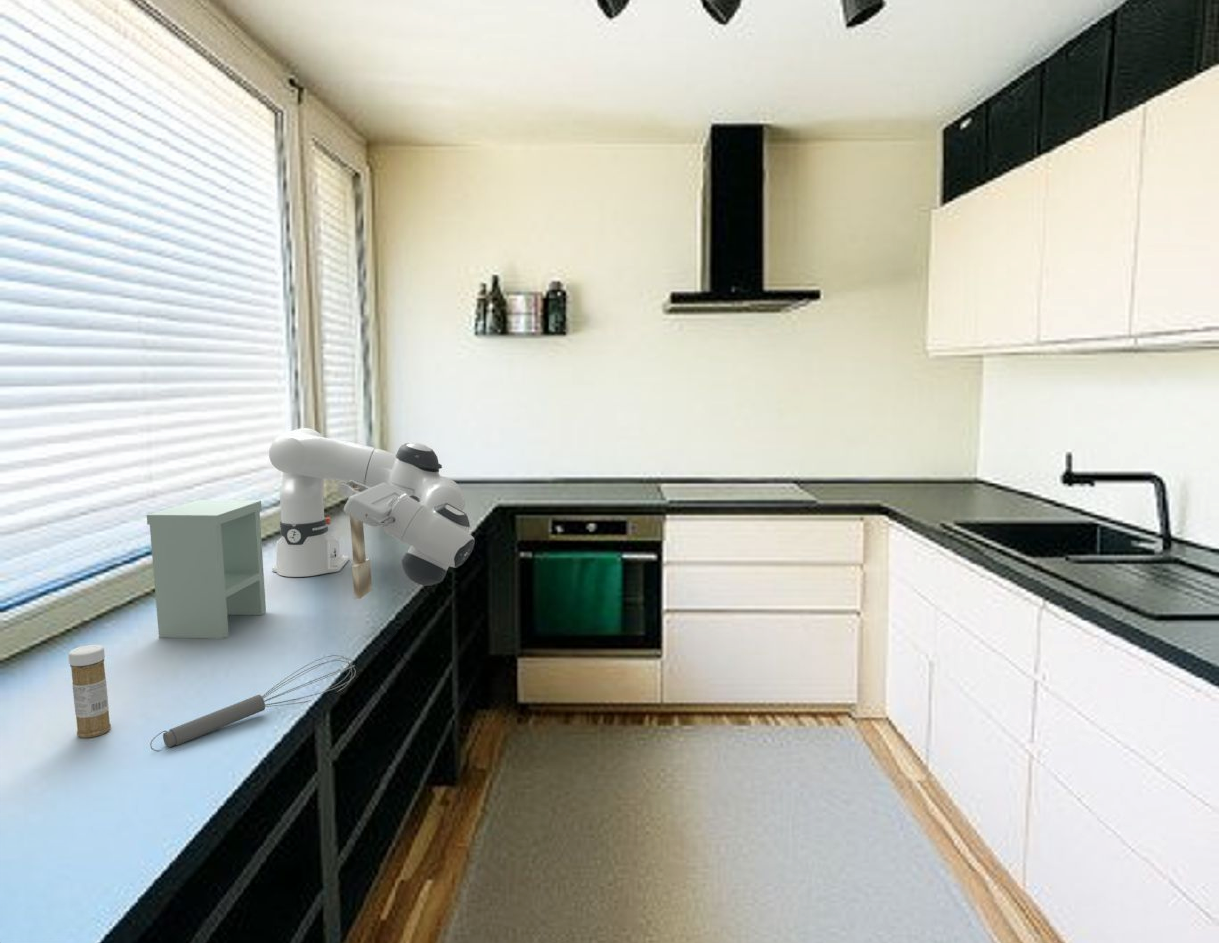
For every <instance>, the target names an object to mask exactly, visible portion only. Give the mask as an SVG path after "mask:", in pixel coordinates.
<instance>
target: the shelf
mask: <svg viewBox="0 0 1219 943" xmlns="http://www.w3.org/2000/svg"><path fill="white" fill-rule="evenodd" d="M262 508H263V507H262V500H225V499H224V500H223V499H222V500H221V499H220V500H214V499H212V500H211V499H210V500H209V499H208V500H207V499H202V500H201V499H197V500H193V501H190V502H186V503H183V504H180V505H176V506H172V507H169V508H165V509H163V510H158V511H155V512H152V513H149V514H146V524H147V525H149V531H150V532H149V533H150V544H151V555H152V556H151V558H152V569H153V571H152V572H153V581H154V593H155V594H154V595H155V605H156V607H155V608H156V617H157V628H158V629H157V632H158V638H169V639H170V638H171V639H173V638H175V639H218V640H219V639H221V640H222V639H226V637H227V638H228V637H229V635H230V634H229V623H228V622H229V621H228V620H229V619H228V616H229V615H232V616H233V615H234V616H235V615H239V616H240V615H242V616H243V615H244V616H252V615H253V616H262V615H264V614H266V613H267V605H266V604H267V603H266V592H265V591H266V589H265V574H264V559H263V544H262V527H261V515H260V514H261V513H260V511H261V510H262Z"/></svg>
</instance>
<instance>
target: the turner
mask: <svg viewBox="0 0 1219 943" xmlns="http://www.w3.org/2000/svg"><path fill="white" fill-rule="evenodd" d="M353 489H354V490H355V491H356V490H357V491H359V492H361V489H360V488H353ZM349 522H350V537H351V538H350V539H351V546H352V547H351V550H352V562H353V565H352V566H351V569H352V581H353V583H352V584H353V595H354V596H353V597H354V600H361V599H362V598H363V597H364V596H366V595H367V594H369V593H370V592H371V591H373V584H372V571H371V569H372V568H371V560H370V558H367V557H366V546H365V532H364V523H363V522H361V521H359V520H357V519H355V518H353V517H351V516H350V515H349Z"/></svg>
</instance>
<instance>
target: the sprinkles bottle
mask: <svg viewBox="0 0 1219 943" xmlns="http://www.w3.org/2000/svg"><path fill="white" fill-rule="evenodd" d="M105 656H106V655H105V648H104V646H103V645H99V644H89V645H81V646H79V647H76V648H73V649H71V650H70V651H69V652H68V664H69V665H70V666H69V667H70V668H71V670H70V671H71V677H72V678H71V679H72V692H73V703H74V714H75V718H76V719H75V720H76V728H77V731H76V735H77V736H78V737H79V738H84V739H85V738H93V737H99V736H102V735H103V734H105V733H107V732H109V731H110V730H111V728H112V725H111V723H110V722H111V721H110V713H109V712H110V711H109V697H108V696H109V695H108V686H107V678H106V669H105Z"/></svg>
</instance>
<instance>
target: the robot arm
mask: <svg viewBox="0 0 1219 943" xmlns="http://www.w3.org/2000/svg"><path fill="white" fill-rule="evenodd" d="M268 458H269V461H270V463H271V464H272V466H273V467H274V468H275V469H276V470H278V471H280V472H282V482H281V487H280V490H279V504H280V506H279V507H280V522H279V535H280V536H281V537H280V538H279V539H278V540H277V541H276V551H275V552H276V557H275V559H276V560H275V565H274V566H272V567H271V568H272V569H271V571H272V572H274V573H277V574H278V576H282V577H287V578H288V577H290V578H292V577H293V578H300V577H301V578H303V577H313V576H319V575H324V574H330V573H338V572H340V571H341V570H342V569H343V567H344V566H345V565H346V564H347V563H348V561H349V560H350V558H349V556H348V555H345V554H344V555H343V554H341V549H340V548H341V547H340V541H339V540H338V539H337V538H335V537H334V535H332V534H331V533H330V532H329V527H328V526H329V525H331V521H332V520H331V517H329V516H328V517H325V506H324V483H325V482H324V481H325V480H334V481H339V482H343V483H341V484H339V487H338V491H339V492H341V493H342V494H344V496H345V497H346V498H347V501H346V502H345V505H344V506H343V511H344V513H345V514H347V515H348V516H349V517H350V516H351V517H353V518H355V519H357V520H359V521H361V522H363V524H366V525H369V526H371V527H374V528H375V527H379V526H383V528H382V531H383V532H384V533H386V534H388V535H389V536H391V537H393V538H394V539H396V540H398V541H399V542H401V543H403V544H406V545H410V546H409V549H408V551H407V552H406V553H405V554H404V556H403V558H402V559H401V565H402V569H403V571H404V574H405V575H406V577H407V578H408V579H409V580H411V581H412V582H413V583H415V584H417V585H421V586H425V587H427V586H433V585H436V584H439V583H441V582H443V581H444V579H445V576H446V574H447V573H448V572H447V571H448V569H449V567H450V568H458V567H460V566H462V565H463V564H464V563H465V562H466V561H467V559H468V558H469V557H470V555H471V553H472V551H473V550H474V546H475V542H476V541H475V537H474V536H472V535H471V533H469V529H470V520H469V517H468V514H467V513H466V512H464V510H465V506H466V501H465V497H464V496H465V495H464V492H463V490H462V489H461V487H460V486H459V484H458V483H457V482H456V481H454V480H453V479H451V478H448V477H446V476H441V474H440V469H443V466H442V464H441V463H440V462H439V459H438V456H437V454H436V452H435V451H434V449H433V448H431V447H429V446H427V445H425V444H423V443H420V442H410V443H409V442H408V443H404V444H402V445H400V447H399V448H398V450H397V452H396V453H393V452H390V451H387V450H384V449H381V448H377V447H373V446H369V445H364V444H361V443H357V442H352V441H348V440H343V439H336V438H335V439H333V438H329V437H324V436H323V435H322V434H321V433H320V432H318V431H317V430H315V429H313V428H309V427H301V428H298V429H293V430H290V431H288V432H283V433H281V434H280V435H278V436H277V437H275V439H274V440H273V441H272V443H271V445H270V447H269V450H268ZM353 488H360V489H361V492H359V491H357V490H356V491H355V490H354V489H353Z"/></svg>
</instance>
